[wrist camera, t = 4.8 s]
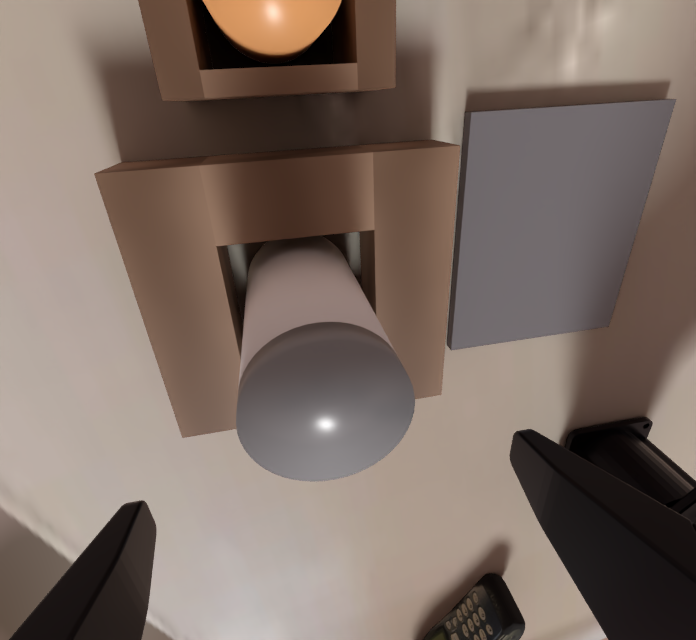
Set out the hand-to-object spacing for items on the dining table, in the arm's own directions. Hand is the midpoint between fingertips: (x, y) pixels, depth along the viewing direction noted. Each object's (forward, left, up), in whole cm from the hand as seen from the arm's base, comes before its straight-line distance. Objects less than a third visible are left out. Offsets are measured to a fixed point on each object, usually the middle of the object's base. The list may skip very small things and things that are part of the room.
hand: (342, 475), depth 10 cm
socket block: (0, -4, -12) cm, 13 cm away
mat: (-13, -1, -12) cm, 18 cm away
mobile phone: (-11, +37, -12) cm, 40 cm away
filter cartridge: (0, 0, -12) cm, 12 cm away
